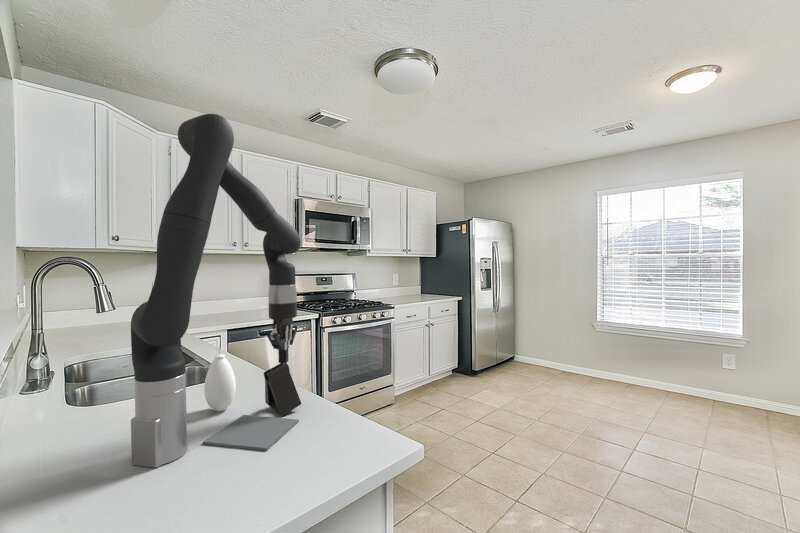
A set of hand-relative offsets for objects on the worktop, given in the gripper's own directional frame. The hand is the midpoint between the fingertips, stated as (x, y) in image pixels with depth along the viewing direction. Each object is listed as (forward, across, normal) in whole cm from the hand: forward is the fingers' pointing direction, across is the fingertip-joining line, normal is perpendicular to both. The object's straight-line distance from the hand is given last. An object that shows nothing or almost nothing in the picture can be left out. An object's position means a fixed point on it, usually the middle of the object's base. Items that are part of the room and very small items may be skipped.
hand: (283, 362), depth 106 cm
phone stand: (+12, -1, 0) cm, 12 cm away
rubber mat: (+13, -15, 0) cm, 20 cm away
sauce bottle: (+13, -4, +17) cm, 22 cm away
